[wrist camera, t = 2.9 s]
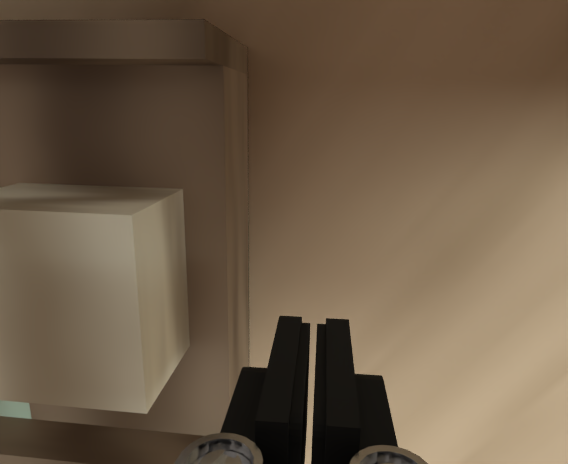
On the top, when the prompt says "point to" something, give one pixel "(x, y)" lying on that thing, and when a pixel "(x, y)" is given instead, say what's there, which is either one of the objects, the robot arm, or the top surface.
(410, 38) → the top surface
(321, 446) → the robot arm
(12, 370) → the birch block
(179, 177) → the lane deck
